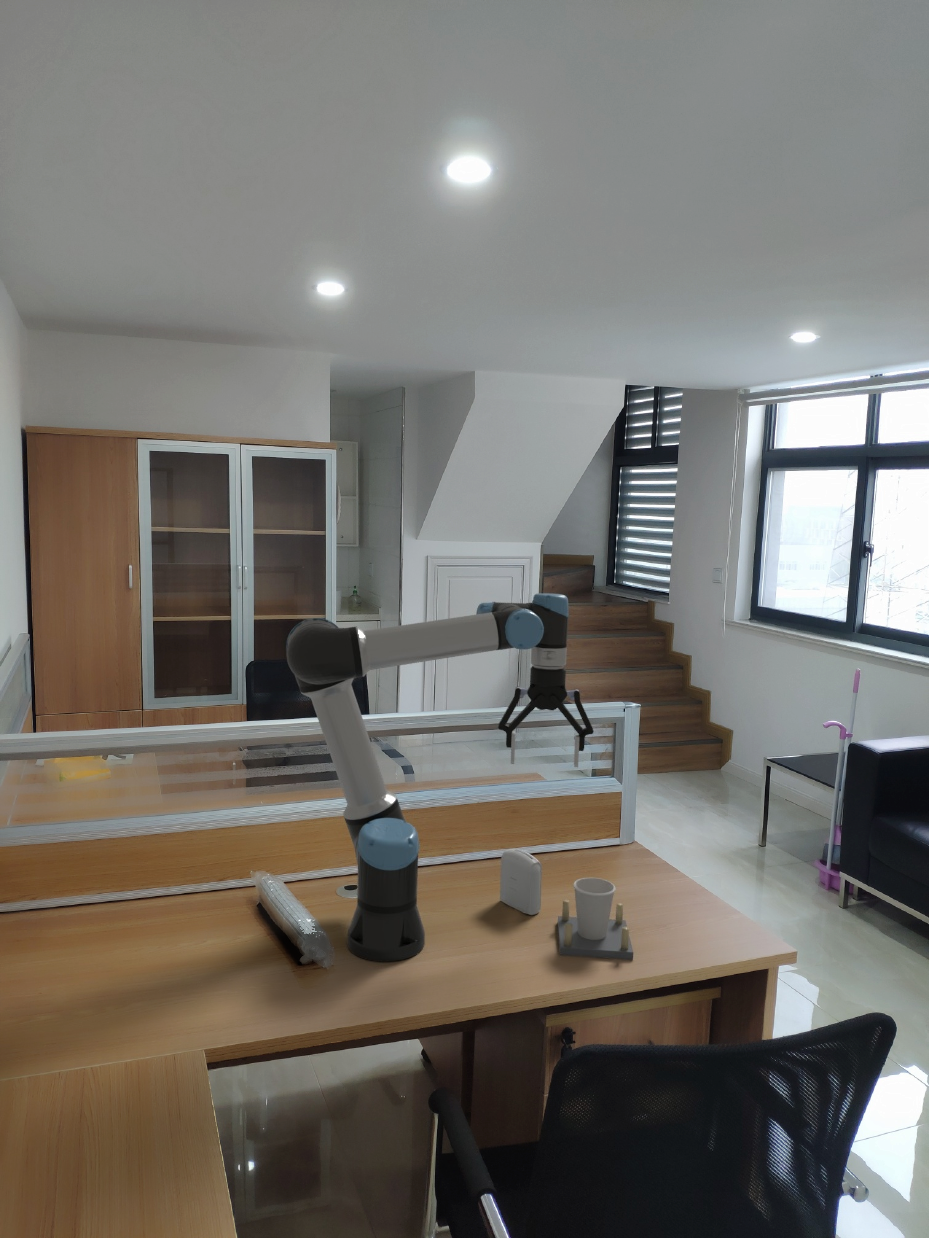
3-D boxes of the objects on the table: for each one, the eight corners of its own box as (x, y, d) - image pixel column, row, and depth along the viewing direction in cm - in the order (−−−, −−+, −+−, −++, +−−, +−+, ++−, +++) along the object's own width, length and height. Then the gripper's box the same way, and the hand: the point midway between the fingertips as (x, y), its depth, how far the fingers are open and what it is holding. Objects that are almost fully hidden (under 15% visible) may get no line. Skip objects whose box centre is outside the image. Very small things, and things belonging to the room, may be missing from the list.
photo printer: (496, 900, 194) (498, 846, 193) (511, 896, 197) (513, 842, 196) (528, 917, 186) (531, 861, 185) (543, 912, 189) (545, 856, 188)
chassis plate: (559, 954, 170) (561, 927, 170) (557, 922, 184) (558, 897, 184) (632, 959, 169) (634, 932, 169) (625, 927, 183) (626, 901, 183)
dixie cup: (616, 943, 173) (619, 894, 172) (574, 942, 172) (576, 893, 171) (609, 924, 181) (611, 877, 180) (568, 923, 181) (570, 876, 180)
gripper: (488, 666, 184) (485, 765, 186) (609, 671, 182) (604, 771, 185) (490, 661, 192) (487, 756, 194) (605, 666, 190) (601, 762, 192)
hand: (544, 764), depth 189 cm, fingers open, 13 cm apart
